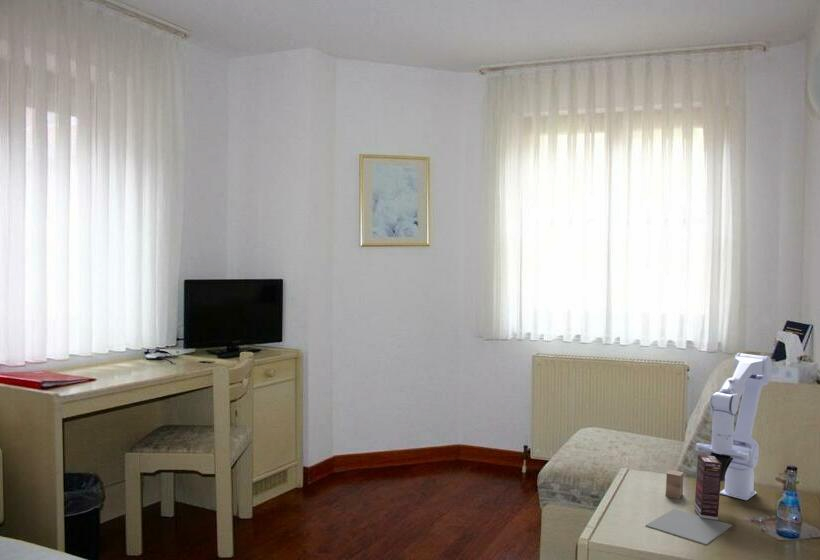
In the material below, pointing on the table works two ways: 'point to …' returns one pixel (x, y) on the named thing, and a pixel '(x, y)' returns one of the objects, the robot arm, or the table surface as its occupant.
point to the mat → (689, 526)
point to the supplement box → (708, 486)
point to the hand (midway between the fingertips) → (720, 479)
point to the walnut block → (674, 484)
